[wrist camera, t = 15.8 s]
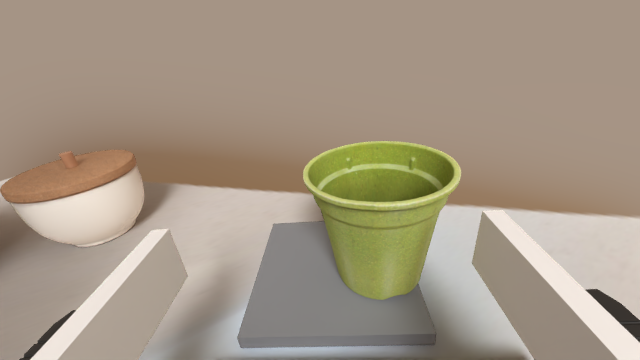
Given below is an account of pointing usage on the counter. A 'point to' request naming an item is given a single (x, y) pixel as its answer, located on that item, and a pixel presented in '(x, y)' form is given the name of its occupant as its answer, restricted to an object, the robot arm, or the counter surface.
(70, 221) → the lidded jar
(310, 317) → the charcoal mat
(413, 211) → the plant pot
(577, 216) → the counter surface
